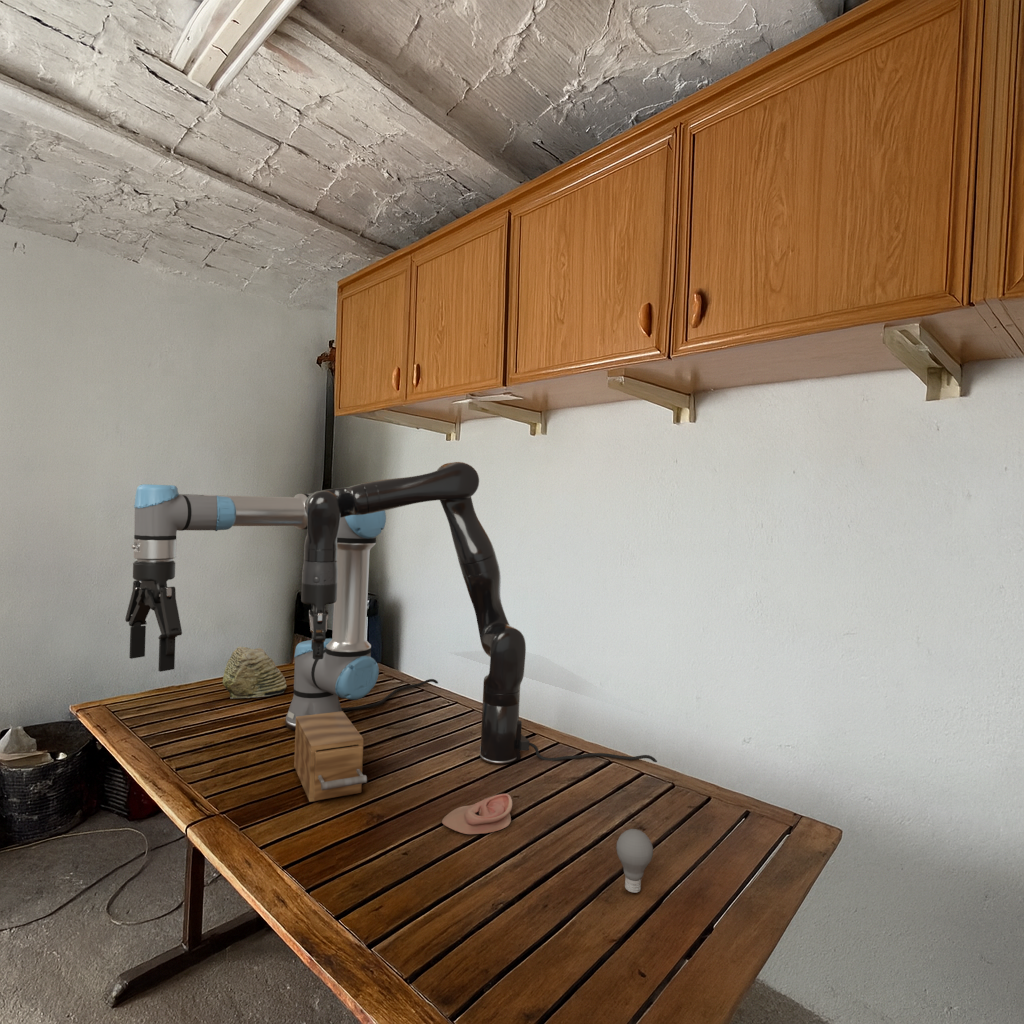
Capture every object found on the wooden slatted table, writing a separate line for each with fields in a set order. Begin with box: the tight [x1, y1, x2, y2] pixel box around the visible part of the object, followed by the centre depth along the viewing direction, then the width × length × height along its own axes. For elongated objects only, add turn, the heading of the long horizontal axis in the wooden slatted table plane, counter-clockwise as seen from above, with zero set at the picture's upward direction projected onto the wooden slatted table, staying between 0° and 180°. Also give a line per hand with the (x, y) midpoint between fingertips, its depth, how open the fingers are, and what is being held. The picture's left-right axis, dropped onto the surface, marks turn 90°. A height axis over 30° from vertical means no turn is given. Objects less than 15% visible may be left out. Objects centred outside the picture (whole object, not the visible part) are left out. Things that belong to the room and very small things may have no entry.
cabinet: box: [293, 711, 365, 803], centre depth 142 cm, size 19×11×12 cm, turn 28°
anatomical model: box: [441, 793, 513, 835], centre depth 126 cm, size 13×4×12 cm
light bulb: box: [615, 828, 654, 894], centre depth 106 cm, size 6×6×10 cm
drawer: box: [313, 745, 368, 801], centre depth 138 cm, size 23×10×10 cm, turn 28°
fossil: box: [222, 646, 288, 699], centre depth 198 cm, size 9×18×15 cm, turn 132°
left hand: (151, 663), depth 129 cm, fingers open, 13 cm apart
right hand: (317, 654), depth 140 cm, fingers open, 8 cm apart
